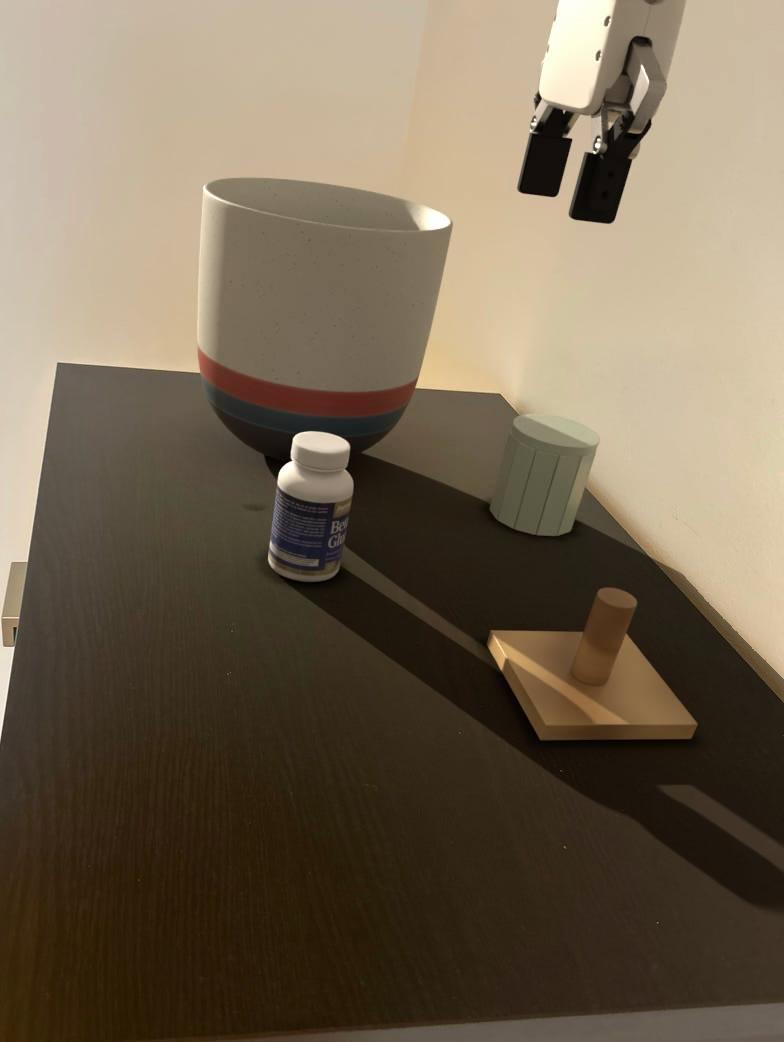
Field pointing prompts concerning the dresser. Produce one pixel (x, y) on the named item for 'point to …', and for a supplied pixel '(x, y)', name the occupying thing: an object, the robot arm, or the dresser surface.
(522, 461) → the cup
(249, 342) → the planter
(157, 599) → the dresser surface
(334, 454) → the pill bottle
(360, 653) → the dresser surface
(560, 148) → the robot arm
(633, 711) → the peg stand
